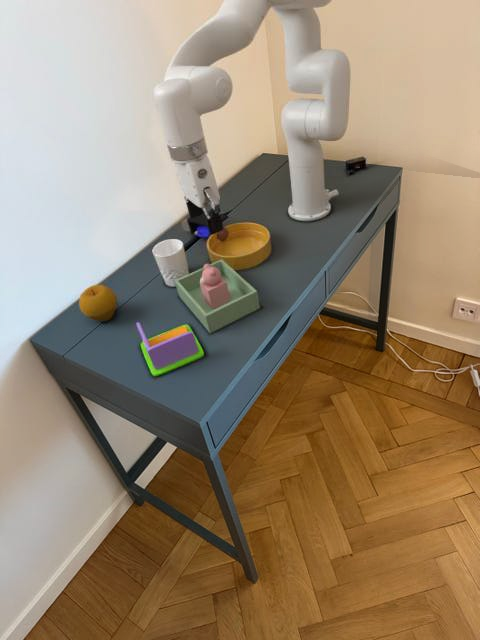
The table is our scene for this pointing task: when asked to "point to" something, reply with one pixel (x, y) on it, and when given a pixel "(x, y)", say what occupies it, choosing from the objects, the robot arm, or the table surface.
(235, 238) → the bowl
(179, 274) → the white cup
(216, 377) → the table surface
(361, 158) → the wireless earbuds
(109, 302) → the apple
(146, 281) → the table surface
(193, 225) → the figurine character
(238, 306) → the tub
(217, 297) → the toy bear
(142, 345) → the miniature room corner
